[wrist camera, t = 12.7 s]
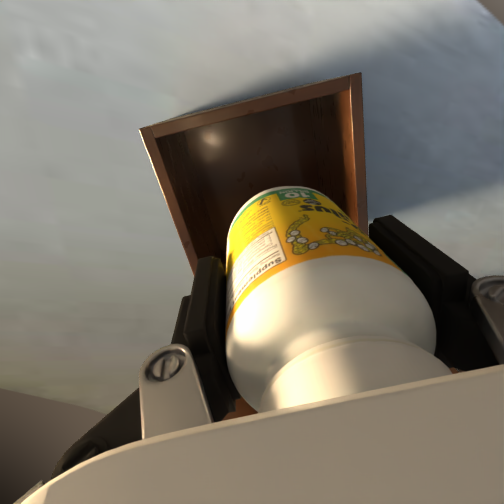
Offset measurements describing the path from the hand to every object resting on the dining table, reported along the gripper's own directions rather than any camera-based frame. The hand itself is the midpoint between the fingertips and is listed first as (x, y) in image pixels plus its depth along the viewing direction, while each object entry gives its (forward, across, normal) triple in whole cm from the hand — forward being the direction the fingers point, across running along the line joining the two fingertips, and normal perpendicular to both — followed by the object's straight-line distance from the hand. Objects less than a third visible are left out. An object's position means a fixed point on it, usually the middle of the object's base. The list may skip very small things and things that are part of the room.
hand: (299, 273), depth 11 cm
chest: (+24, 0, +2) cm, 24 cm away
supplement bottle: (+3, 0, 0) cm, 3 cm away
